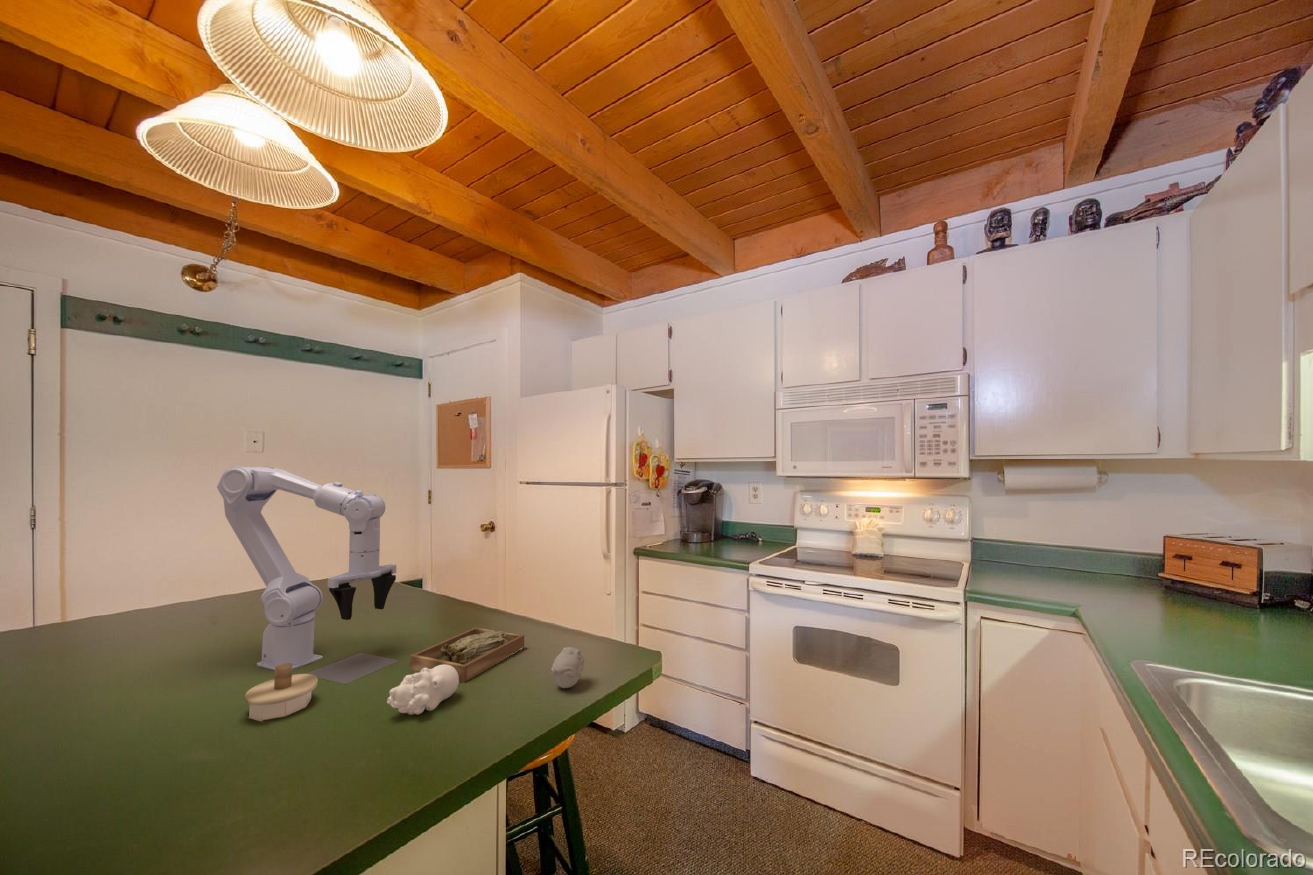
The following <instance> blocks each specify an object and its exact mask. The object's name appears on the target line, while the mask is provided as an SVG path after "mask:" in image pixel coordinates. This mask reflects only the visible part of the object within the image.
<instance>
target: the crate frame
mask: <svg viewBox="0 0 1313 875" xmlns="http://www.w3.org/2000/svg"><path fill="white" fill-rule="evenodd" d="M490 630H491V631H492V630H493V629H487V628H482V627H473V628H471V629H469V630H467V631H463V632H462V633H459V634H457V635H455V636H452V637H450V638H447V639H445V640H442V641H440V642H438V643H436V644H434V645H431V646H429V647H427V648H425V649H422V650H420V651H417V652H415V653H413V654H411V655H409V670H410V671H415V672H418V673H420V671H421V670H422V669H423V668H428V669H433V668H434V667H436V666H438V665H443V664H446V665H450V666H452V667H454V668H455V669H456V671H457V673H458V676H459V682H460V683H466V682H467V681H469V680H471V679H473V678H475V677H476V675H477V676H478V675H480V674H482V673H484V672H486V671H487V670H489V669H491V668H492V667H494V666H496V665H498V664H499V663H498V662H500V661H501V662H503V661H505V660H506V659H505V658H507V657H508V656H510V655H511V654H512V653H515V652H516V651H518V650H519V649H520V648H522V647H523V646H524V647H525V635H524V634H518V633H511V632H506V636H504V638H505V639H506V640H508V642H507V643H505V644H503V645H501V646H499V647H497V648H495V649H493V650H492V651H490V652H488V653H486V654H484V655H482V656H480V657H478V658H476V659H474V660H472V661H470V662H468V663H466V664H464V665H463V664H458V663H453V662H448V661H446V660H444V659H439V658H441V657H440V655H439V653H440V649H441V648H442V645H443V644H448V645H451V644H453V643H455V642H456V641H458V640H460V639H461V638H465V637H467V636H470V635H474V634H480V633H482V634H483V633H485V632H486V631H490ZM496 631H497V632H499V631H500V630H496ZM510 657H511V656H510ZM508 658H509V657H508ZM508 658H507V659H508ZM504 659H505V660H504ZM502 660H503V661H502ZM501 662H500V663H501ZM497 663H498V664H497ZM495 664H496V665H495ZM493 665H494V666H493ZM488 668H489V669H488Z"/></svg>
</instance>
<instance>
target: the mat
mask: <svg viewBox="0 0 1313 875" xmlns="http://www.w3.org/2000/svg"><path fill="white" fill-rule="evenodd" d="M398 662H400V660H397V659H394V658H388V657H384V656H379V655H375V654H369V653H364V652H359V653H356V654H353V655H351V656H349V657H346V658H343V659H340V660H338V661H335V662H333V663H330V664H327V665H325V666H322V667H319V668H316V669H315V670H312V671H309V672H307V673H305V674H311V675H315V676H316V677H317V678H318V679H322V680H325V681H328V682H334V683H337V684H341V685H348V684H350V683H352V682H355V681H357V680H359V679H361V678H364V677H365V676H368V675H371V674H372V673H375V672H377V671H380V670H382V669H384V668H386V667H389V666H392V665H394V664H396V663H398Z"/></svg>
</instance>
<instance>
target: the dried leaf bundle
mask: <svg viewBox="0 0 1313 875" xmlns="http://www.w3.org/2000/svg"><path fill="white" fill-rule="evenodd" d="M489 630H490V631H486V632H485V633H483V634H482V633H480V634H474V635H470V636H467V637H465V638H461V639H460V640H458V641H456V642H455V643H453V644H451V645H448V644H443V645H442V648H441V649H440V653H439V655H440V657H439V658H442V657H443V658H444V657H445V661H448V662H453V663H458V664H463V665H464V664H466V663H468V662H470V661H472V660H474V659H476V658H478V657H480V656H482V655H484V654H486V653H488V652H490V651H492V650H493V649H495V648H497V647H499V646H501V645H503V644H505V643H507V642H508V640H506V639H505V638H504V636H506V633H507V631H506V630H505V631H502V630H501V631H500V630H497V629H495V630H493V629H489ZM491 630H492V631H491ZM497 631H499V632H497Z"/></svg>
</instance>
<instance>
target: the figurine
mask: <svg viewBox="0 0 1313 875" xmlns="http://www.w3.org/2000/svg"><path fill="white" fill-rule="evenodd" d="M458 687H459V676H458V673H457V671H456V669H455V668H454V667H452V666H450V665H446V664H443V665H438V666H436V667H434V668H433V669H428V668H423V669H422V670H421V671H420V672H414V673H413V674H407V675H405V676H404V677H403V680H402V681H401V682H400V684H399V685H398V686H395V687H393V688H391V689H389V692H388V694H389V697H387V699H386V704H388V705H389V706H390V707H391V708H393V709H398V712H399V713H402V714H408V715H409V716H412V715H421V714H423V712H424V711H425V710H426V711H428V712H431V711H434V710H435V709H436V708H437V707H438V706H439V704H440V703H441V702H442V701H445V700H447V699H448V698H450V697H452V696H453V694H454V693H455V692H456V690H457V689H458Z"/></svg>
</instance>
